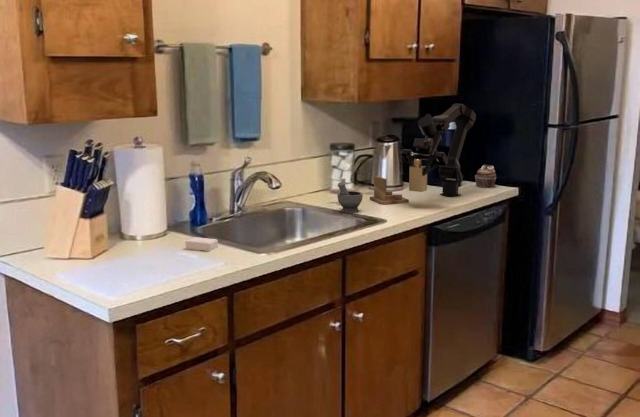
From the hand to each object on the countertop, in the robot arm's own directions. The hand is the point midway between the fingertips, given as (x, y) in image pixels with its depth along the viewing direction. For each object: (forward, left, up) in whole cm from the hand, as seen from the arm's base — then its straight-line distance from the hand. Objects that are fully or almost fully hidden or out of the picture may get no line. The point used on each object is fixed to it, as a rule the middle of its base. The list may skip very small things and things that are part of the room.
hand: (416, 174), depth 261 cm
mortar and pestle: (+25, -11, -14) cm, 30 cm away
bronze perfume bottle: (-1, 0, -7) cm, 7 cm away
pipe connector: (+17, -25, -13) cm, 33 cm away
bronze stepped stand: (0, -16, -13) cm, 21 cm away
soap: (+94, +3, -14) cm, 95 cm away
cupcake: (-57, -14, -14) cm, 61 cm away
